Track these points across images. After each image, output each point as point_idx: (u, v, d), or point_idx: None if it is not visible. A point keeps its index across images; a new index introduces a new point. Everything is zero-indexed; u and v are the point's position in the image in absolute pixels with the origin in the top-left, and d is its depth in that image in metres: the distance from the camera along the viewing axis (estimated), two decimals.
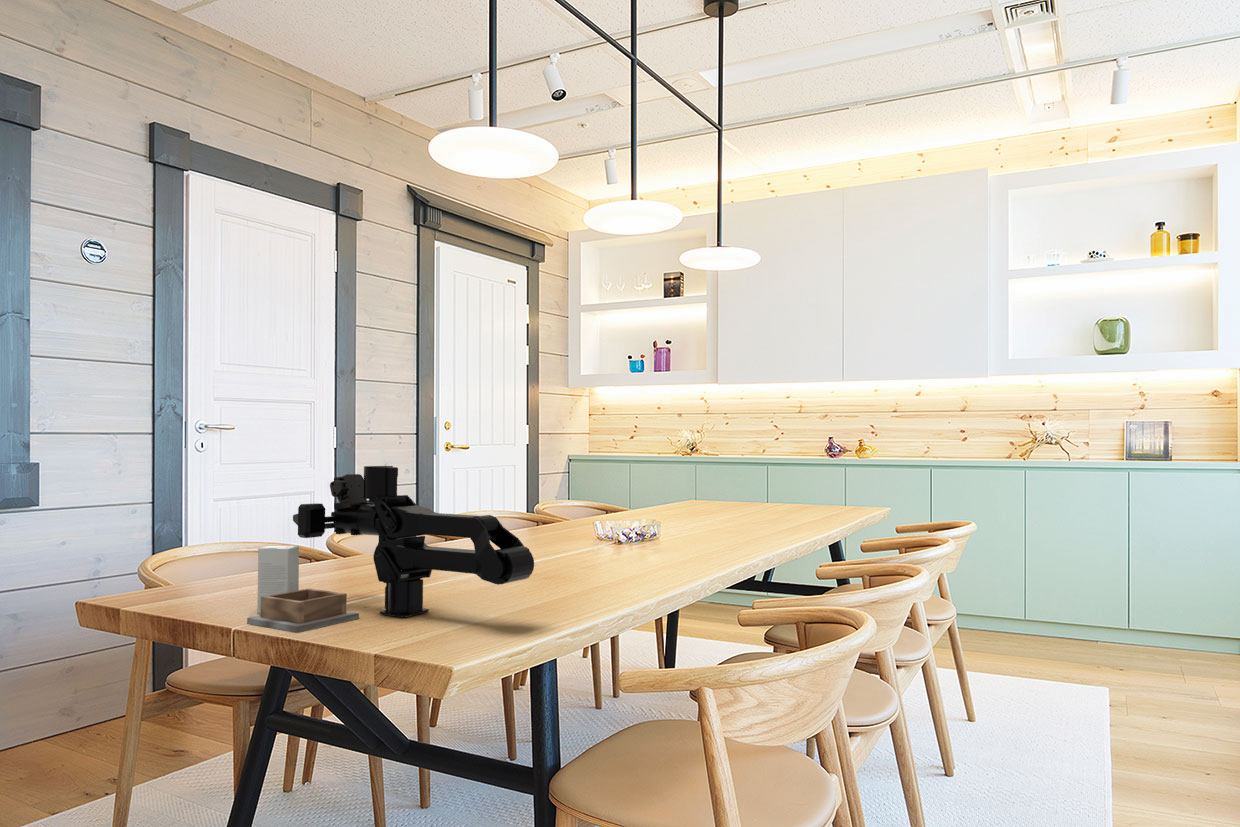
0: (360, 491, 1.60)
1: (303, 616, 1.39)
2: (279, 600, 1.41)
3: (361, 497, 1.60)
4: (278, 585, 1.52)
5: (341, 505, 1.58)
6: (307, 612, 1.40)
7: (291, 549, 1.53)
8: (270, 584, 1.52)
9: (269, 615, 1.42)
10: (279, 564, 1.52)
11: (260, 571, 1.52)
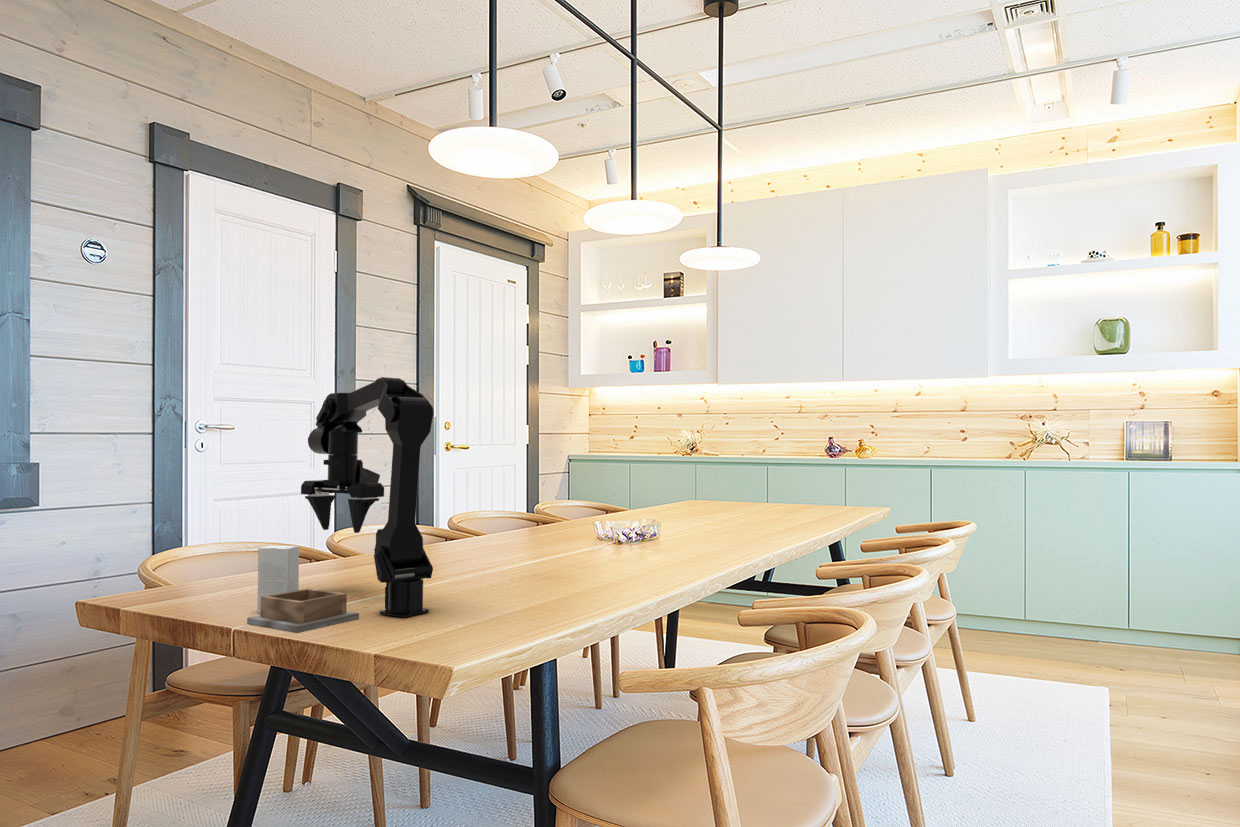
0: None
1: (303, 616, 1.39)
2: (279, 600, 1.41)
3: None
4: (278, 585, 1.52)
5: None
6: (307, 612, 1.40)
7: (291, 549, 1.53)
8: (270, 584, 1.52)
9: (269, 615, 1.42)
10: (279, 564, 1.52)
11: (260, 571, 1.52)
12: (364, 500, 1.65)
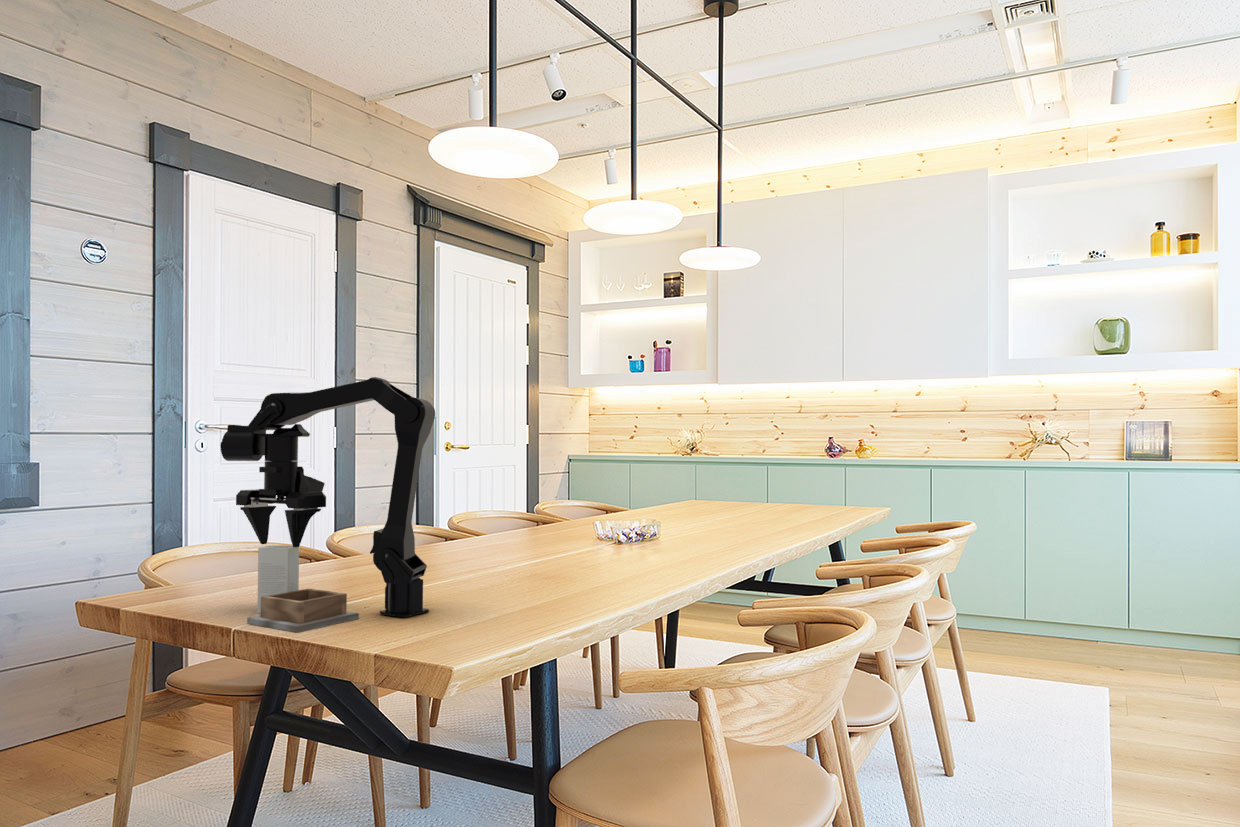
0: None
1: (303, 616, 1.39)
2: (279, 600, 1.41)
3: None
4: (278, 585, 1.52)
5: None
6: (307, 612, 1.40)
7: (291, 549, 1.53)
8: (270, 584, 1.52)
9: (269, 615, 1.42)
10: (279, 564, 1.52)
11: (260, 571, 1.52)
12: (303, 511, 1.49)
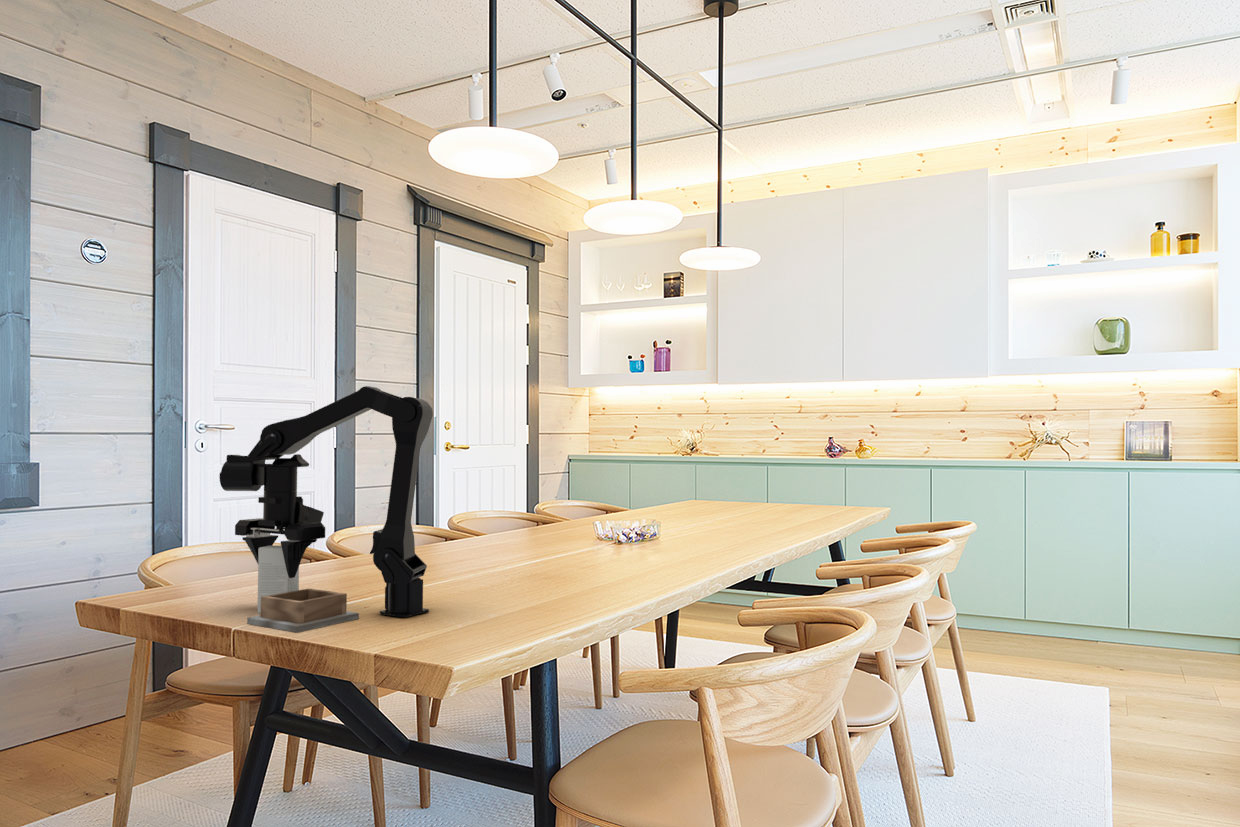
0: None
1: (303, 616, 1.39)
2: (279, 600, 1.41)
3: None
4: (278, 585, 1.52)
5: None
6: (307, 612, 1.40)
7: None
8: (270, 584, 1.52)
9: (269, 615, 1.42)
10: (279, 563, 1.52)
11: (260, 571, 1.52)
12: (298, 542, 1.49)
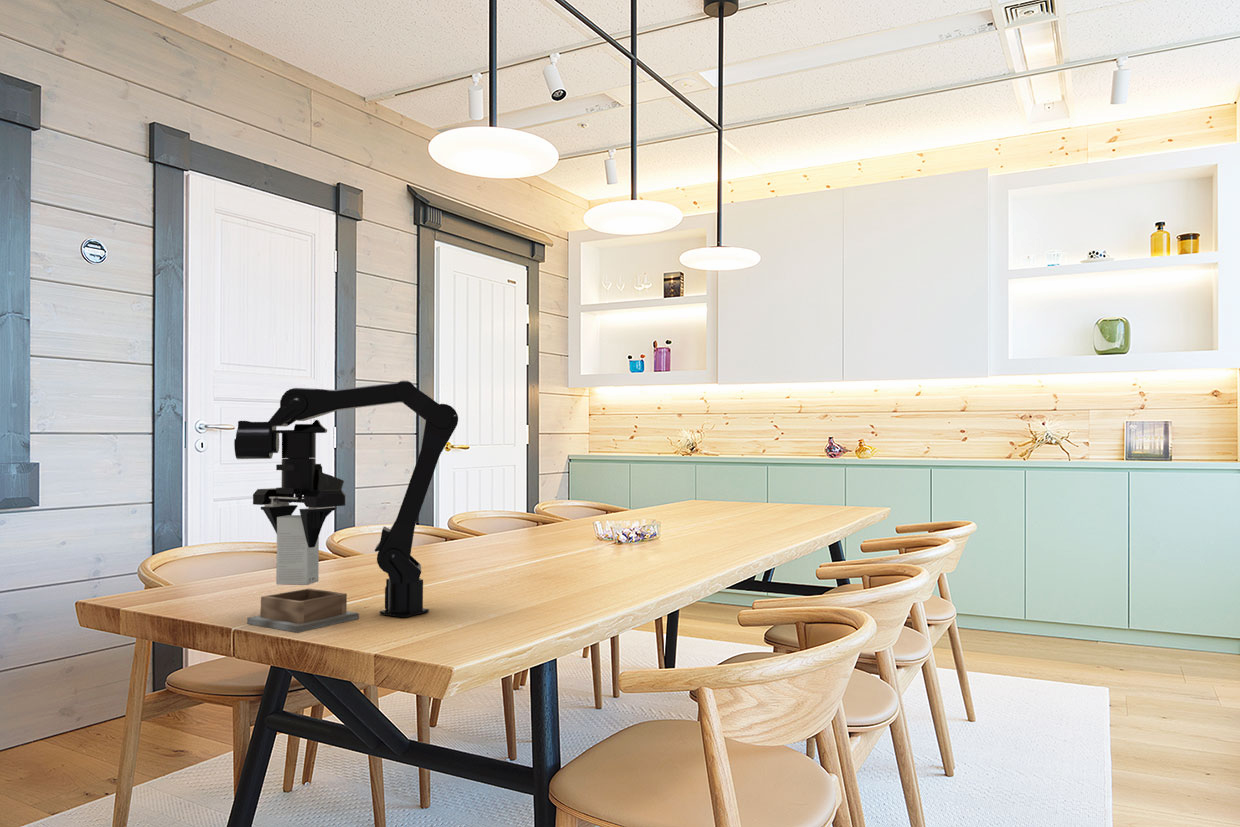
0: None
1: (303, 616, 1.39)
2: (279, 600, 1.41)
3: None
4: (297, 556, 1.46)
5: None
6: (307, 612, 1.40)
7: None
8: (289, 554, 1.46)
9: (269, 615, 1.42)
10: (299, 533, 1.46)
11: (279, 541, 1.47)
12: (318, 510, 1.44)
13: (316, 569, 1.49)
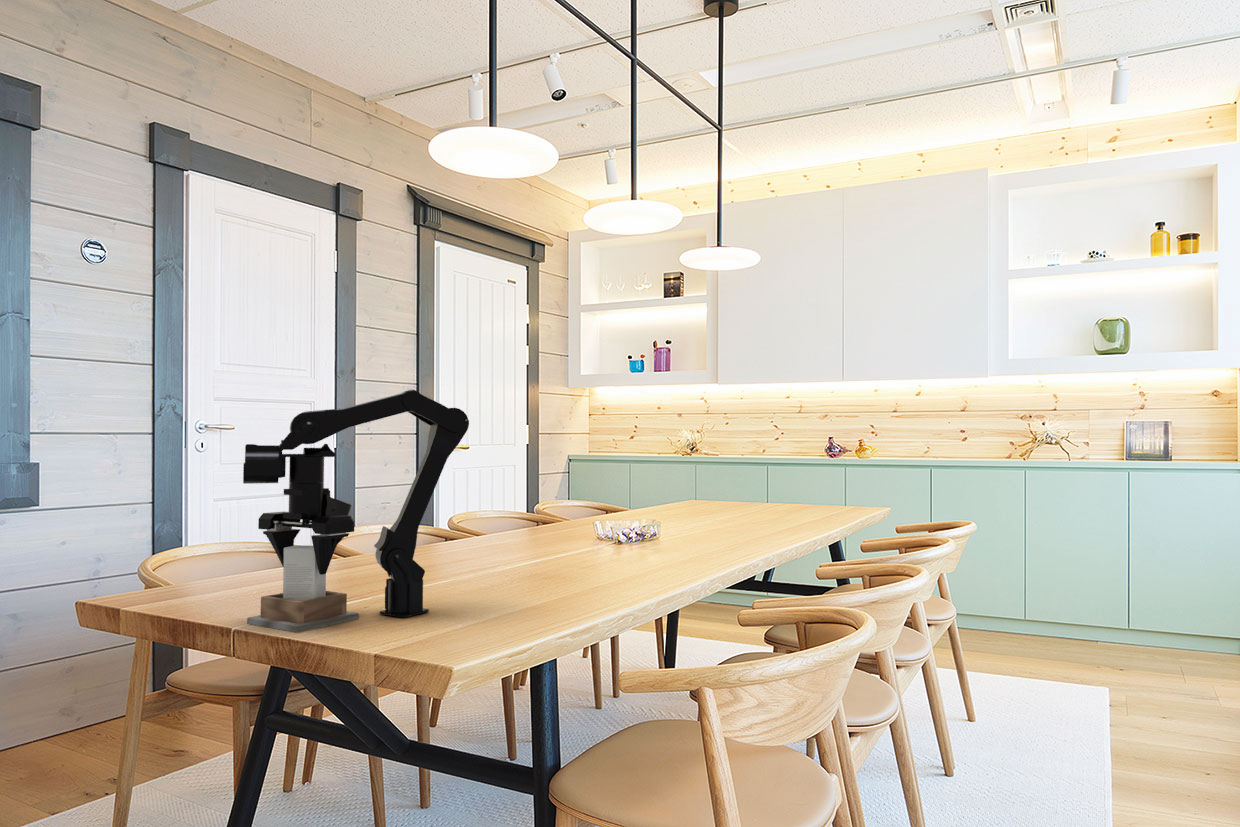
0: None
1: (303, 616, 1.39)
2: (279, 600, 1.41)
3: None
4: (304, 588, 1.43)
5: None
6: (307, 612, 1.40)
7: None
8: (295, 586, 1.44)
9: (269, 615, 1.42)
10: (306, 564, 1.44)
11: (285, 572, 1.44)
12: (330, 536, 1.41)
13: None
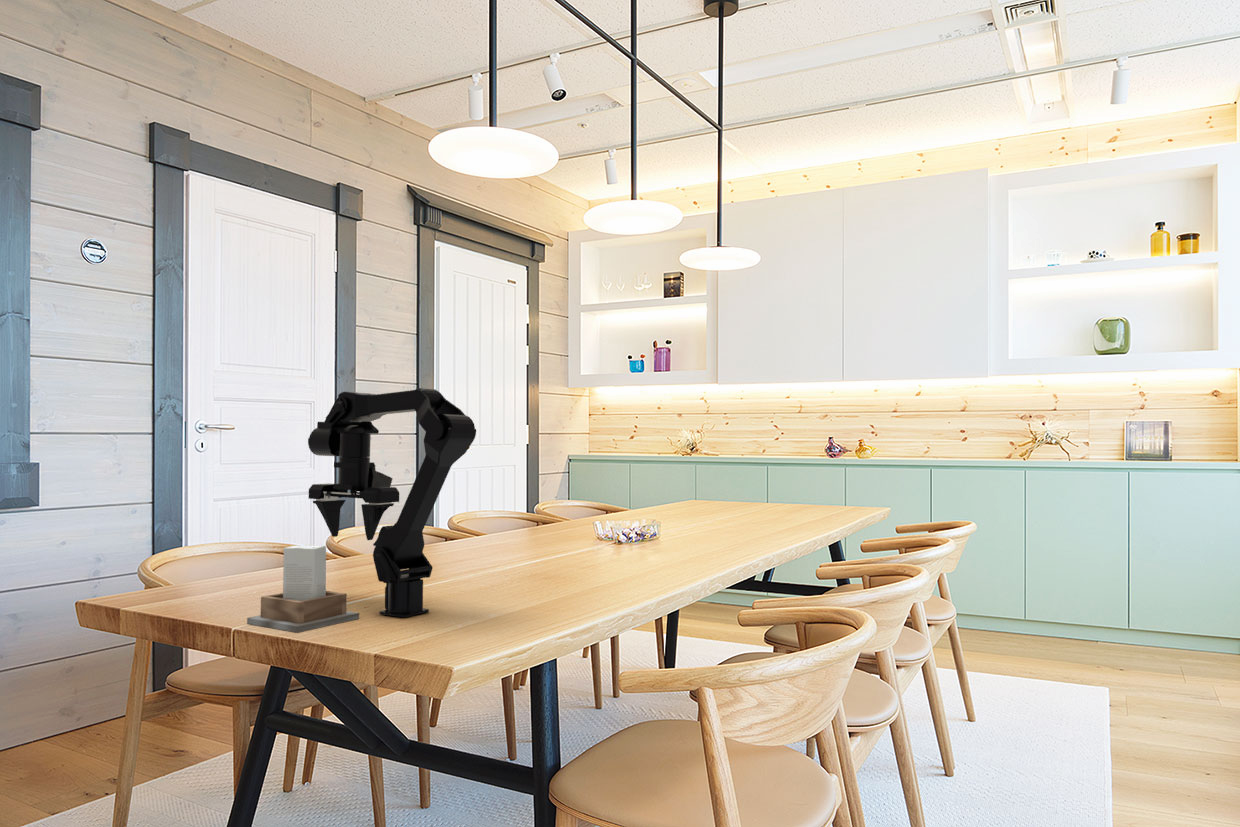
0: None
1: (303, 616, 1.39)
2: (279, 600, 1.41)
3: None
4: (304, 588, 1.43)
5: None
6: (307, 612, 1.40)
7: (318, 549, 1.44)
8: (295, 586, 1.44)
9: (269, 615, 1.42)
10: (306, 565, 1.44)
11: (285, 572, 1.44)
12: (379, 505, 1.55)
13: None
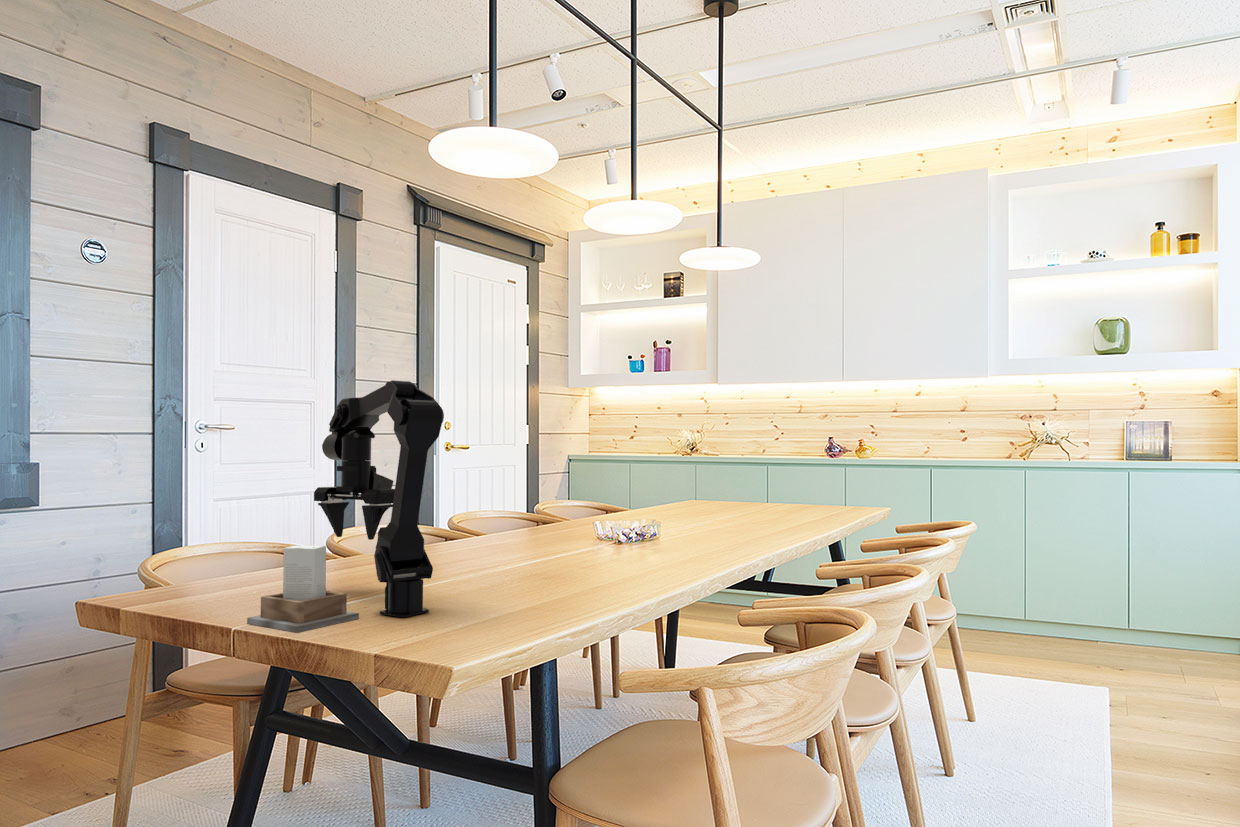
0: None
1: (303, 616, 1.39)
2: (279, 600, 1.41)
3: None
4: (304, 588, 1.43)
5: None
6: (307, 612, 1.40)
7: (318, 549, 1.44)
8: (295, 586, 1.44)
9: (269, 615, 1.42)
10: (306, 564, 1.44)
11: (285, 572, 1.44)
12: (378, 506, 1.63)
13: None
